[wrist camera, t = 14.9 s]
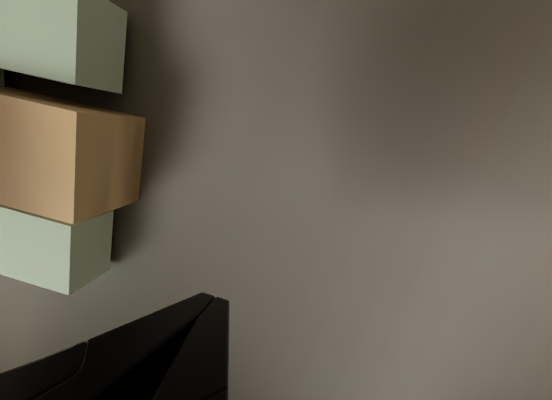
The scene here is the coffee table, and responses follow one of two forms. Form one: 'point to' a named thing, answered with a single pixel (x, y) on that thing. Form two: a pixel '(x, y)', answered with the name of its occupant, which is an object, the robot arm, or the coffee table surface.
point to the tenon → (67, 156)
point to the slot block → (78, 71)
